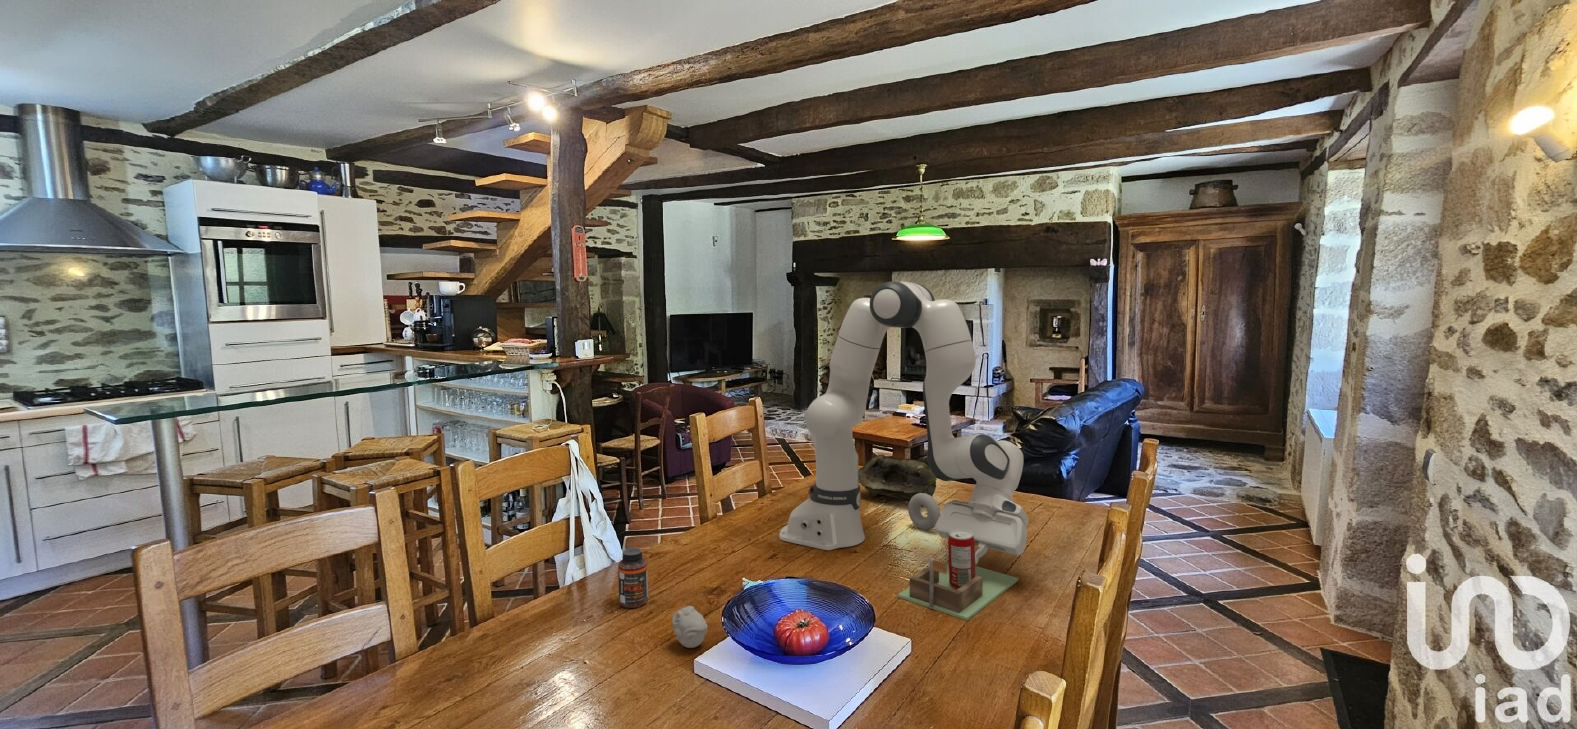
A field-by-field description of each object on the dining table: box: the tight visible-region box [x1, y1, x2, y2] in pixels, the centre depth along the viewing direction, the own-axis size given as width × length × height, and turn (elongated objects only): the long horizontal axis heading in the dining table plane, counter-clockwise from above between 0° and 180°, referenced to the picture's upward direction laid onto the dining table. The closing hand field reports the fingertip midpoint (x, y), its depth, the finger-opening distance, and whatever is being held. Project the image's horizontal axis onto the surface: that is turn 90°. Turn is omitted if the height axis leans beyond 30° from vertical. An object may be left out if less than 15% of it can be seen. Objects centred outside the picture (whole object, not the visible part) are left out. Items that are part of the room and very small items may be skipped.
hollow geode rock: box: [858, 454, 938, 508], centre depth 208 cm, size 28×13×15 cm
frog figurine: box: [671, 605, 709, 649], centre depth 124 cm, size 6×7×7 cm
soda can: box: [947, 529, 976, 589], centre depth 145 cm, size 6×6×12 cm
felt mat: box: [897, 562, 1019, 622], centre depth 146 cm, size 24×16×1 cm, turn 138°
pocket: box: [909, 557, 983, 613], centre depth 140 cm, size 12×11×10 cm
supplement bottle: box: [617, 547, 649, 609], centre depth 141 cm, size 6×6×11 cm
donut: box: [907, 493, 941, 531], centre depth 182 cm, size 10×4×10 cm, turn 40°
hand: (969, 561), depth 148 cm, fingers closed, pressing on soda can
